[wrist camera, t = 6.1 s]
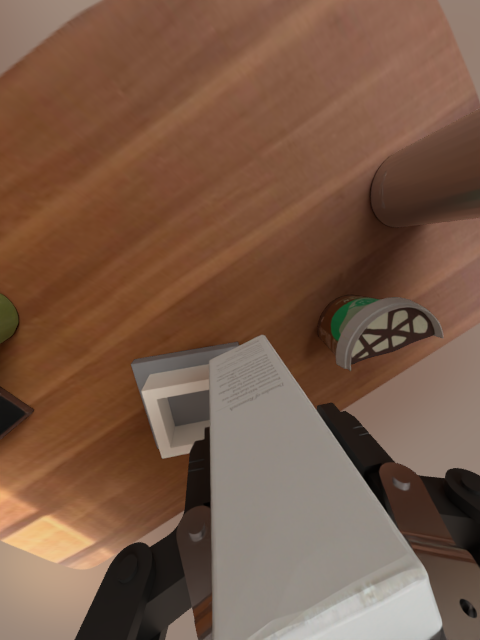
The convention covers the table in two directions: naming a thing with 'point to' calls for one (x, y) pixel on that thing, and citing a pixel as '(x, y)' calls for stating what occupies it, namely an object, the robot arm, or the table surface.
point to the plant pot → (7, 318)
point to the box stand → (177, 396)
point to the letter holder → (11, 412)
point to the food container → (373, 326)
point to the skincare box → (299, 520)
